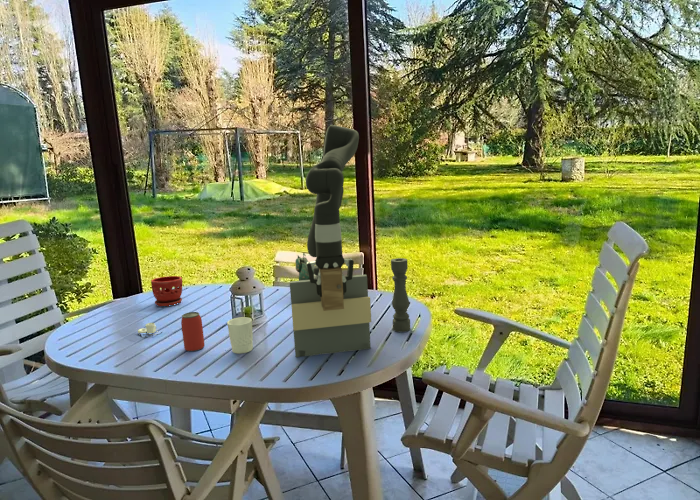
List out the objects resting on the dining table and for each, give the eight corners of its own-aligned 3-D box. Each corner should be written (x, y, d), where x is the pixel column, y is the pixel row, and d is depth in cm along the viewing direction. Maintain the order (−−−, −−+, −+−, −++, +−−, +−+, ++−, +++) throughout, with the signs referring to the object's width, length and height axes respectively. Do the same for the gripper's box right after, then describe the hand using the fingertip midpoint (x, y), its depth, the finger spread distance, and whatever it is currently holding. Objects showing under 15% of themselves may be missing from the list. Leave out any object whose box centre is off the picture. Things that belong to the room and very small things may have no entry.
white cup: (242, 356, 156) (239, 326, 154) (225, 352, 160) (222, 323, 158) (259, 347, 163) (256, 318, 161) (242, 343, 167) (239, 315, 165)
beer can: (187, 345, 168) (183, 312, 166) (206, 343, 169) (202, 310, 166) (182, 352, 162) (178, 318, 160) (202, 351, 162) (198, 316, 160)
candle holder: (409, 332, 169) (407, 261, 164) (391, 331, 170) (389, 262, 165) (411, 326, 175) (408, 257, 170) (393, 325, 176) (391, 258, 171)
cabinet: (320, 301, 149) (317, 263, 147) (339, 300, 150) (337, 262, 148) (324, 312, 139) (321, 271, 137) (344, 310, 140) (342, 269, 138)
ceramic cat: (296, 292, 228) (293, 250, 225) (309, 290, 231) (306, 249, 227) (309, 303, 210) (306, 257, 206) (324, 300, 213) (320, 255, 209)
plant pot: (178, 307, 215) (175, 281, 213) (149, 309, 215) (145, 282, 213) (188, 299, 228) (185, 274, 225) (161, 300, 228) (157, 275, 226)
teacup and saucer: (135, 335, 183) (133, 324, 182) (155, 329, 189) (154, 318, 188) (145, 339, 177) (143, 329, 176) (166, 333, 183) (164, 323, 182)
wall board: (294, 347, 160) (288, 277, 156) (365, 339, 164) (362, 270, 160) (296, 361, 149) (290, 285, 145) (372, 352, 153) (369, 278, 148)
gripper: (304, 243, 135) (308, 301, 139) (355, 239, 137) (358, 296, 141) (302, 238, 143) (306, 294, 146) (351, 235, 145) (353, 289, 148)
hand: (331, 294), depth 143 cm, fingers closed on cabinet, 6 cm apart
